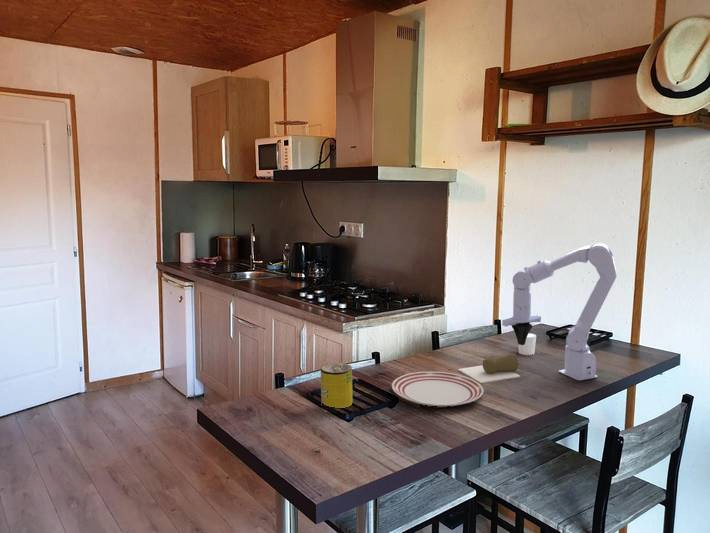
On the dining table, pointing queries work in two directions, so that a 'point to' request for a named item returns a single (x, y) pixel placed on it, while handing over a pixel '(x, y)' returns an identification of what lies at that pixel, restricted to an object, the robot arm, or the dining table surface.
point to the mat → (483, 377)
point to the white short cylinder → (528, 345)
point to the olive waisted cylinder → (501, 364)
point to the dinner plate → (437, 388)
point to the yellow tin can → (336, 385)
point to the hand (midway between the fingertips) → (521, 344)
